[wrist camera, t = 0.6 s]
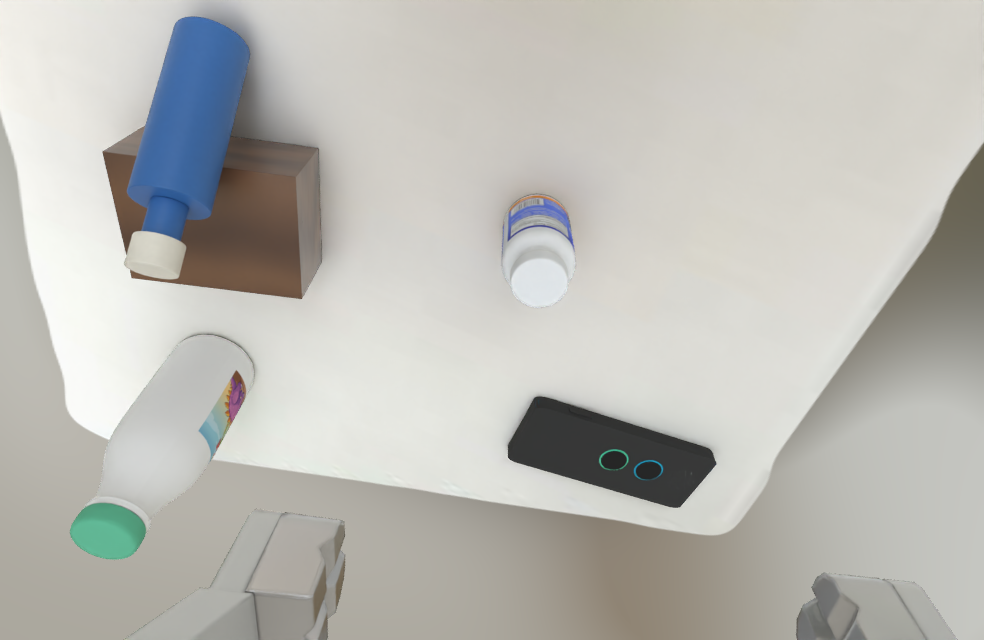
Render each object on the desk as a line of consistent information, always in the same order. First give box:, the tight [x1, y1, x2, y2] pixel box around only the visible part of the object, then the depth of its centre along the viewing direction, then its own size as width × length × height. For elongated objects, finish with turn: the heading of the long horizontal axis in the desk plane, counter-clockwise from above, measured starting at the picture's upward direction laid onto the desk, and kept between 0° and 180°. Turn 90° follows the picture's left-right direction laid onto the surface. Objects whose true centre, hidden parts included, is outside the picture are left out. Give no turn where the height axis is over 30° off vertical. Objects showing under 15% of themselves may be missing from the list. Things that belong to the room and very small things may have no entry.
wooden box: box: [103, 125, 322, 299], centre depth 48 cm, size 10×13×6 cm
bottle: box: [124, 17, 250, 279], centre depth 40 cm, size 14×5×15 cm, turn 173°
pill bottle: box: [502, 194, 576, 308], centre depth 46 cm, size 5×5×10 cm
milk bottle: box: [70, 335, 254, 559], centre depth 52 cm, size 8×8×20 cm
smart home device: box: [508, 397, 716, 508], centre depth 64 cm, size 8×2×20 cm
